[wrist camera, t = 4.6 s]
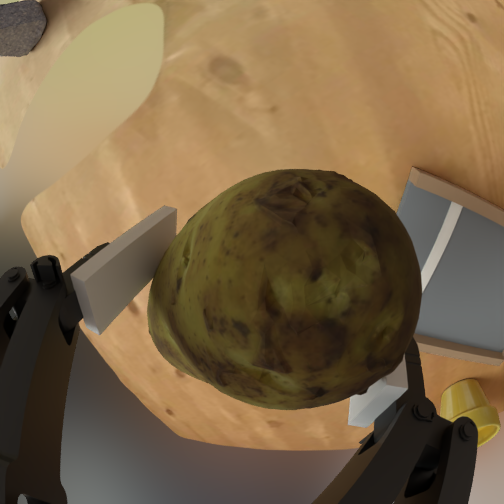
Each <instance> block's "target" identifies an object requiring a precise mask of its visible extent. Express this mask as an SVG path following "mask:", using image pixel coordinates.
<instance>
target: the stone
mask: <svg viewBox="0 0 504 504" xmlns="http://www.w3.org/2000/svg"><path fill="white" fill-rule="evenodd" d="M45 25H46V17H45V15H44V13H43V11H42V6H40V4H39V2H37V1H36V0H25V1H20V2H14V3H9V4H3V5H0V56H16V57H21V56H24V55H27V54H28V53H29V52H30V50H31V49H32V48H33V47H34V46H35V45H36V44H37V42H38V41H39V40H40V38H41V36H42V33H43V31H44V28H45Z"/></svg>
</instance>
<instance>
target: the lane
mask: <svg viewBox="0 0 504 504" xmlns="http://www.w3.org/2000/svg"><path fill="white" fill-rule="evenodd" d="M397 216H398V217H399V219H400V220H401V222H402V223H403V225H404V226H405V228H406V230H407V232H408V234H409V236H410V238H411V240H412V242H413V245H414V249H415V252H416V255H417V259H418V262H419V266H420V270H421V279H422V299H421V307H420V314H419V319H418V323H417V326H416V330H415V333H414V335H413V337H414V339H415V341H416V343H417V344H418V348H419V351H421V352H425V353H430V354H435V355H440V356H445V357H450V358H455V359H461V360H466V361H472V362H478V363H483V364H490V365H496V366H500V365H501V363H502V362H503V361H504V210H503V209H502V208H500V207H498V206H496V205H494V204H493V203H491V202H489V201H487V200H485V199H483V198H481V197H479V196H477V195H475V194H474V193H471V192H469V191H467V190H465V189H463V188H461V187H459V186H457V185H455V184H453V183H450V182H448V181H446V180H444V179H442V178H439V177H437V176H435V175H432V174H430V173H427V172H425V171H423V170H420V169H418V168H415V167H413V166H412V169H411V172H410V175H409V178H408V182H407V185H406V188H405V191H404V194H403V197H402V200H401V203H400V205H399V208H398V211H397Z"/></svg>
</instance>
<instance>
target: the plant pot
mask: <svg viewBox="0 0 504 504" xmlns="http://www.w3.org/2000/svg"><path fill="white" fill-rule="evenodd" d="M462 416H466V417H469V418H470V419H472V420H473V421H474V423H475V424H476V426H477V429H478V445H477V447H479V446H481V445H483V444H485V443H486V442H487V441H489V440H490V439H492V438H493V437H494V436H495V435H496V434H497V433H498V431H499V430H500V421H499V416H498V413H497V409H496V408H495V407H494V406H491V405H490V403H489V401H488V399H487V397H486V395H485V394H484V392H483V390H482V388H481V386H480V385H479V383H478V381H477V380H475V379H465V380H462V381H459V382H457V383H455V384H453V385H451V386H450V387H449V388H447V389H446V390H445V391H444V393H443V394H442V397H441V411H440V417H443V418H445V419H447V420H449V421H451V422H454V421H455V420H456V419H457V418H459V417H462Z"/></svg>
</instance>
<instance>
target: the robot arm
mask: <svg viewBox="0 0 504 504" xmlns="http://www.w3.org/2000/svg"><path fill="white" fill-rule="evenodd" d="M176 225H177V209H176V208H172V207H168V206H165V205H164V206H163V207H161V208H160V209H158V210H157V211H155V212H154V213H152V214H151V215H149V216H148V217H146V218H145V219H144V220H142V221H141V222H139V223H138V224H136V225H135V226H133V227H132V228H131V229H129V230H128V231H126V232H125V233H124V234H122V235H121V236H120V237H118V238H117V239H115V240H114V241H113V242H111V243H108V242H107V243H105V244H102V245H100V246H97V247H96V248H95V249H93V250H92V251H91V252H89V254H87V255H85V256H84V257H83V259H82V258H81V259H80V260H79V261H77V262H76V263H75V264H74V265H72V266H71V267H70V268H68V269H67V270H66V271H65V272H63V273H62V270H61V266H60V262H59V259H58V258H57V257H55V256H52V255H47V256H42V257H39V258H37V259H36V260H35V261H33V262H32V264H31V265H30V266H31V269H32V272H33V275H34V278H35V279H31V278H28V275H27V273H26V270H25V269H24V268H23V267H13V268H11V269H10V270H8V271H7V272H5V273H4V275H3V276H2V277H1V278H0V504H17V501H18V497H19V495H20V494H23V495H24V496H25V497H26V499H27V502H28V504H67V496H66V493H65V490H64V488H63V486H62V484H61V481H60V458H61V457H60V456H61V440H62V428H63V419H64V409H65V402H66V396H67V389H68V383H69V377H70V372H71V367H72V362H73V357H74V352H75V348H76V344H77V339H78V335H79V331H80V326H79V321H80V320H81V319H82V318H83V319H84V322H85V325H86V327H87V328H88V329H90V330H91V331H93V332H95V333H96V334H98V335H101V334H102V332H103V331H104V330H105V329H106V328H107V327H108V326H109V325H110V323H111V322H112V321H113V320H114V319H115V318H116V317H117V316H118V315H119V314H120V312H121V311H122V310H123V309H124V308H125V307H126V306H127V305H128V304H129V303H130V302H131V301H132V300H133V298H134V297H135V296H136V295H137V294H138V293H139V292H140V291H141V290H142V289H143V288H144V287H145V286H146V285H147V284H148V283H149V282H150V281H151V280H152V279H153V277H154V274H155V271H156V269H157V267H158V265H159V263H160V260H161V259H162V257H163V255H164V252H165V251H166V250H167V248H168V247H169V245H170V244H171V242H172V241H173V239H174V238H175V237H176ZM11 308H13V310H14V312H15V314H16V316H15V318H14V319H12V318H11V316H10V314H9V311H10V310H11ZM419 356H420V354H419V348H418V344H417V343H416V341H415V339H414V337H412V339H411V341H410V344H409V346H408V348H407V350H406V352H405V353H404V357H403V361H402V362H401V363H400V364H399V366H398V367H397V368H396V369H395V371H393V372H392V373H391V374H389V375H387V376H385V377H383V378H381V379H380V380H378V381H377V382H376V383H374V384H373V385H371V386H370V387H369V389H368V391H367V393H365V394H362V395H354V396H351V397H350V408H349V418H348V425H353V426H359V427H365V428H367V427H368V426H369V425H370V424H371V423H373V422H374V431H372V432H371V433H370V434H369V435H367V436H366V437H365V438H364V439H362V440H361V441H360V442H359V443H360V444H362V443H363V444H362V445H361V446H360V448H359V449H358V450H357V452H356V453H355V454H354V456H353V457H352V458H351V459H350V461H349V462H348V463H347V464H346V466H345V467H344V468H343V469H342V471H341V472H340V473H339V474H338V475H337V476H336V478H335V479H334V480H333V481H332V482H331V483H330V485H329V486H328V487H327V488H326V489H325V490H324V491H323V492H322V494H320V495H319V496H318V498H317V499H316V500H315V501H314V502H313V503H312V504H392V503H393V502H394V503H393V504H468V501H469V496H470V492H471V487H472V482H473V476H474V470H475V463H476V455H477V445H478V429H477V426H476V424H475V423H474V421H473V420H472V419H470V418H469V417H466V416H462V417H459V418H457V419H456V420H455V421H454V422H451V421H449V420H447V419H445V418H443V417H440V416H439V415H437V412H436V408H435V406H434V404H433V403H432V402H431V401H430V400H429V399H428V398H426V396H425V388H424V380H423V373H422V366H421V360H420V358H419ZM394 500H395V501H394Z"/></svg>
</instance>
